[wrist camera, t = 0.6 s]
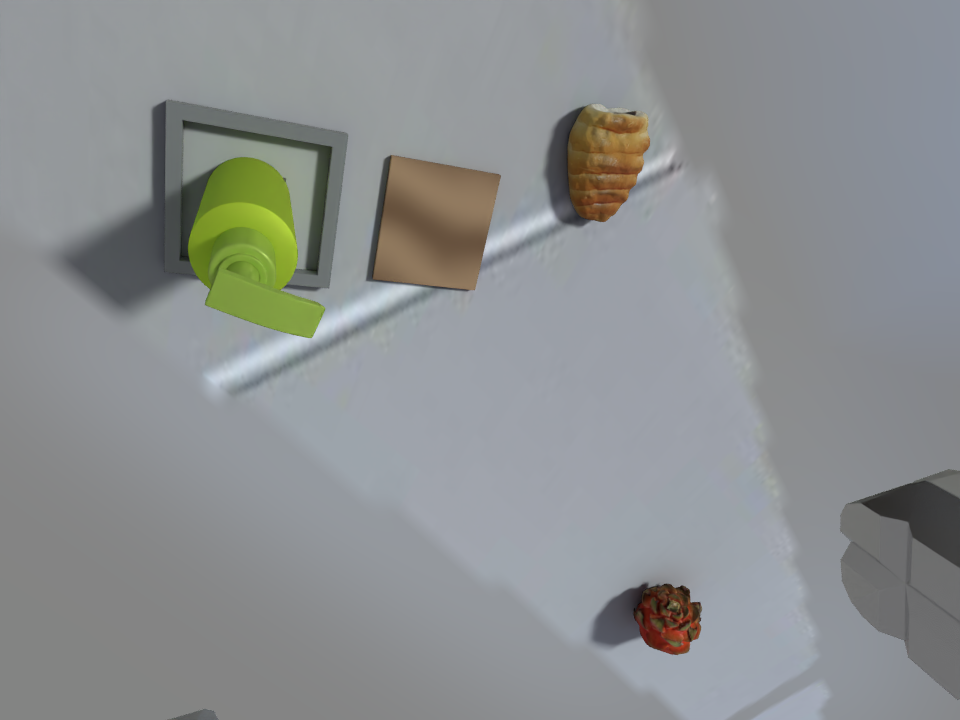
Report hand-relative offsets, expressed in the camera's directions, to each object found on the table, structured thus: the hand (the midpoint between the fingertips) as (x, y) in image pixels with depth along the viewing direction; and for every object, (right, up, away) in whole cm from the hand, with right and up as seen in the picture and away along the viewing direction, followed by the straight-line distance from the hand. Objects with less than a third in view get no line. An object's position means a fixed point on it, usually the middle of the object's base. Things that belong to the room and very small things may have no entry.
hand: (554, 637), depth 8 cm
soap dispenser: (-18, +15, +40) cm, 46 cm away
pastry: (+9, +21, +46) cm, 52 cm away
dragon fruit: (+23, -29, +78) cm, 86 cm away
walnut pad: (-5, +15, +44) cm, 47 cm away
